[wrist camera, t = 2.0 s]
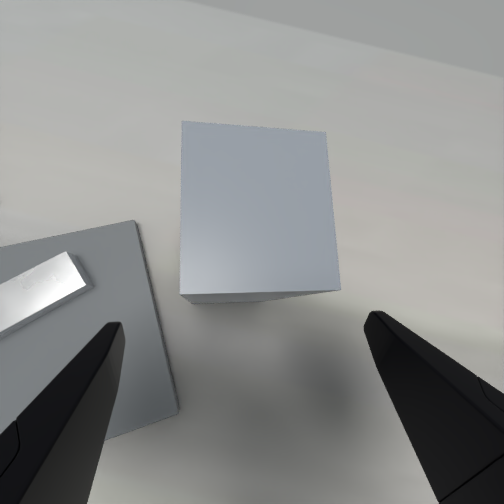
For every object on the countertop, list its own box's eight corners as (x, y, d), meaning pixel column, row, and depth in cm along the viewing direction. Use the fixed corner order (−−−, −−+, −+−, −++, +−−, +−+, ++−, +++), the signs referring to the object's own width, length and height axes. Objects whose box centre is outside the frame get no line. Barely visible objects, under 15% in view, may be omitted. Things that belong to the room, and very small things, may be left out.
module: (260, 301, 21) (341, 289, 9) (191, 303, 20) (180, 294, 8) (257, 218, 22) (323, 112, 10) (192, 217, 21) (182, 99, 9)
